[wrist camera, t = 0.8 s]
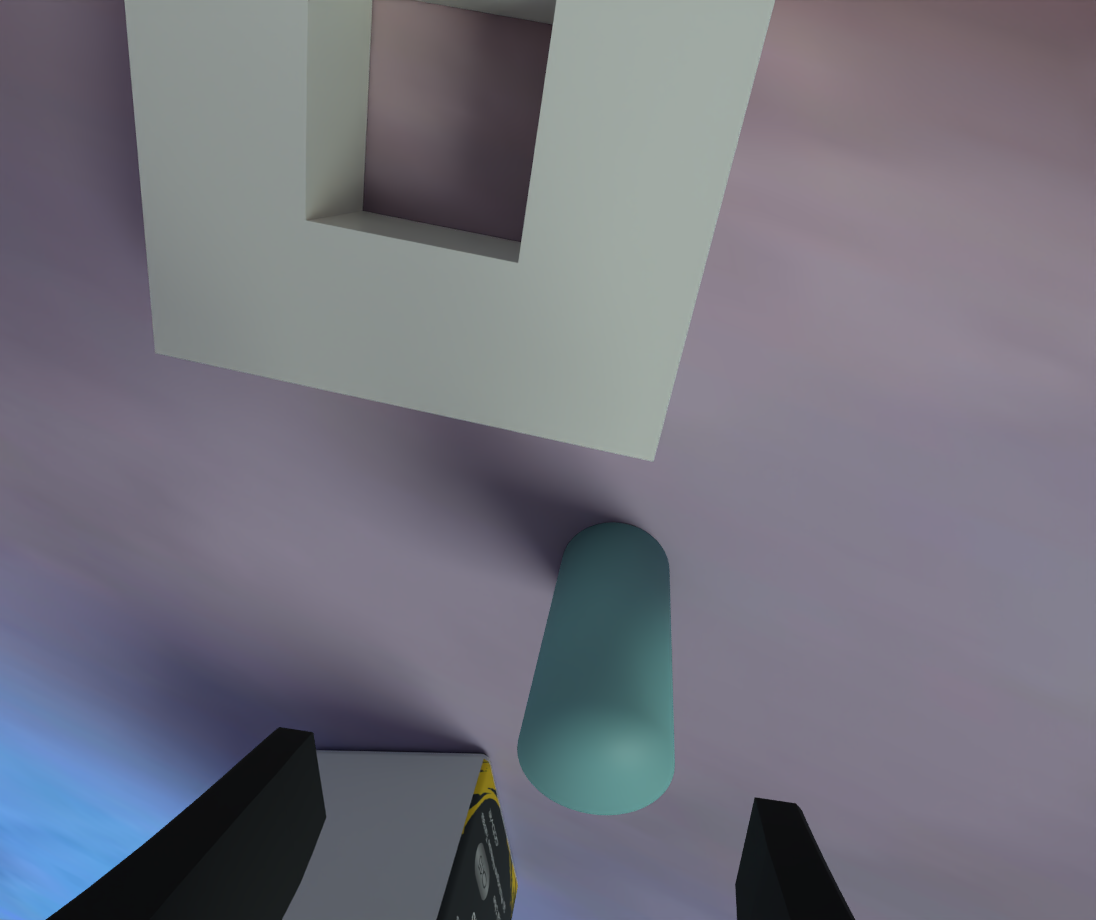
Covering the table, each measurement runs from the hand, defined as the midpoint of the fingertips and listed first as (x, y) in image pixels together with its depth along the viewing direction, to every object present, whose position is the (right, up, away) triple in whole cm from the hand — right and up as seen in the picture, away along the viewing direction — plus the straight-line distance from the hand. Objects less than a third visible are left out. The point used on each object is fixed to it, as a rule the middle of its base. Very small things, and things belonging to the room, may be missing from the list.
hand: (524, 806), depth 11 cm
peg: (+2, +2, +9) cm, 10 cm away
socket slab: (-2, +13, +5) cm, 14 cm away
